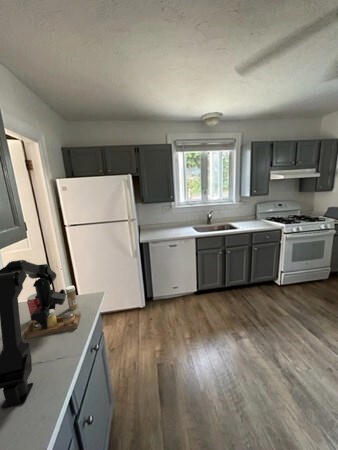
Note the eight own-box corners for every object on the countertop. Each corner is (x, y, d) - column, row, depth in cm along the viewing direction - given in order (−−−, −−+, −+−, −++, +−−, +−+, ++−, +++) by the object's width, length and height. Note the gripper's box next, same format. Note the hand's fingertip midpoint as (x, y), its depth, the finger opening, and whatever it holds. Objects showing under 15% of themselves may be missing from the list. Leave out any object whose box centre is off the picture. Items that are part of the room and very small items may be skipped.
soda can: (46, 320, 101) (41, 297, 99) (29, 324, 99) (24, 301, 96) (48, 312, 108) (44, 291, 105) (33, 316, 105) (28, 294, 103)
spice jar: (74, 326, 94) (73, 317, 93) (62, 328, 93) (60, 319, 92) (77, 319, 99) (75, 310, 98) (65, 321, 98) (64, 312, 97)
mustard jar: (44, 332, 92) (40, 316, 90) (48, 324, 96) (44, 310, 95) (55, 329, 93) (52, 314, 91) (59, 322, 97) (56, 308, 96)
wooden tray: (77, 330, 93) (76, 321, 92) (25, 340, 88) (23, 331, 88) (81, 318, 101) (80, 310, 101) (34, 326, 97) (32, 318, 96)
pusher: (42, 332, 91) (41, 325, 90) (31, 334, 90) (30, 327, 89) (48, 323, 97) (46, 316, 96) (37, 325, 96) (36, 318, 95)
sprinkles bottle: (78, 309, 109) (75, 287, 106) (69, 313, 106) (65, 290, 104) (77, 306, 113) (73, 284, 110) (68, 309, 110) (64, 287, 108)
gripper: (55, 298, 83) (62, 330, 86) (68, 279, 101) (73, 306, 104) (26, 303, 81) (33, 336, 84) (44, 282, 99) (49, 310, 102)
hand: (49, 320), depth 94 cm, fingers open, 9 cm apart
